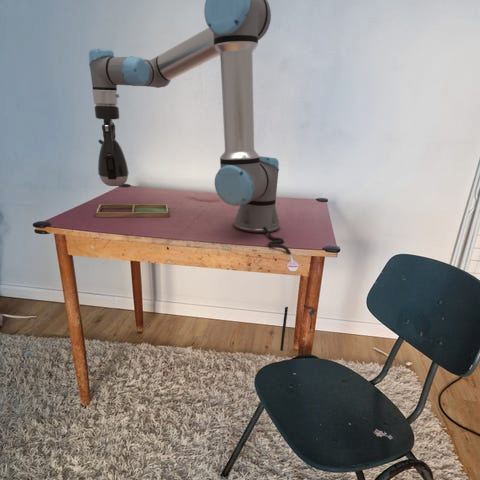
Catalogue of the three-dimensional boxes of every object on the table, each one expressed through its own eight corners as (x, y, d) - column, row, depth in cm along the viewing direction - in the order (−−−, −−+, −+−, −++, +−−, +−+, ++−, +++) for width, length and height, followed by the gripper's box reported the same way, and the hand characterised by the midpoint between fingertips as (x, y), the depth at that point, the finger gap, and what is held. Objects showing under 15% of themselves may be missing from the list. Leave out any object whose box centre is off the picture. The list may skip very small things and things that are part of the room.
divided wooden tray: (168, 216, 150) (168, 212, 150) (96, 216, 146) (95, 212, 145) (167, 208, 162) (167, 204, 161) (100, 208, 157) (99, 204, 156)
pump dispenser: (114, 181, 154) (109, 136, 147) (135, 184, 150) (132, 138, 142) (93, 185, 146) (87, 137, 139) (114, 188, 142) (109, 140, 135)
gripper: (115, 106, 127) (122, 182, 137) (120, 105, 147) (126, 171, 157) (89, 105, 126) (98, 182, 136) (98, 104, 145) (105, 171, 156)
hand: (113, 176), depth 147 cm, fingers closed on pump dispenser, 10 cm apart
